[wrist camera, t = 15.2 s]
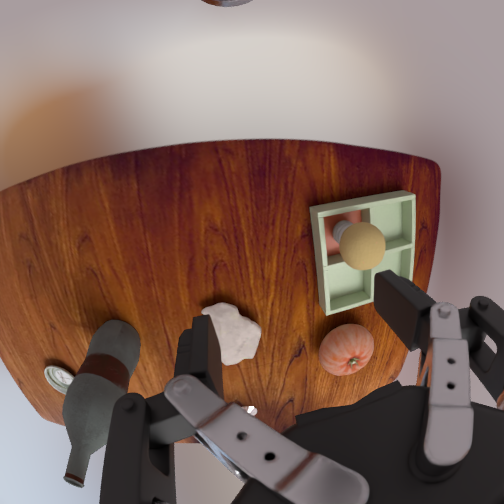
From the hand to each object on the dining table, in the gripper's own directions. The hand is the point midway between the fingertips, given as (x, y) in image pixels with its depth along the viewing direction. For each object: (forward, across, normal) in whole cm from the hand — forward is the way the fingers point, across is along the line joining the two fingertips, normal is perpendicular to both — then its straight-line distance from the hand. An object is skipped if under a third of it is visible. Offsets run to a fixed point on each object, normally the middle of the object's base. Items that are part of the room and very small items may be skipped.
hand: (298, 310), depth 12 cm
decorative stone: (+28, +7, +22) cm, 37 cm away
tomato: (+28, -13, +30) cm, 43 cm away
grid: (+28, -18, +12) cm, 35 cm away
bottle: (+28, +27, +19) cm, 43 cm away
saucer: (+28, +48, +28) cm, 62 cm away
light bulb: (+28, -14, +8) cm, 32 cm away
